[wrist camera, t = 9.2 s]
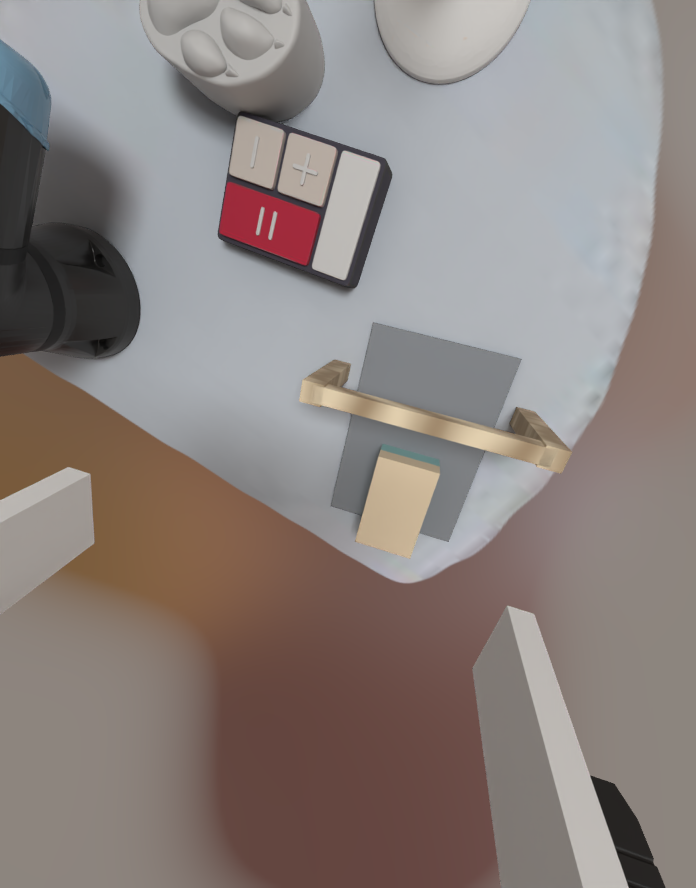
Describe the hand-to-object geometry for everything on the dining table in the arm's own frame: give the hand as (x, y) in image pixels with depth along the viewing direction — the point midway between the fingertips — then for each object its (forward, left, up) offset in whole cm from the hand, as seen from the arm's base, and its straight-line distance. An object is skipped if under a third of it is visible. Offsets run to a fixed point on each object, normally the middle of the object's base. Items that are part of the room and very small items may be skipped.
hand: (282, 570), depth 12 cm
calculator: (-13, +14, -35) cm, 39 cm away
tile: (+5, -15, -30) cm, 33 cm away
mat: (+5, -7, -34) cm, 35 cm away
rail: (+5, -1, -34) cm, 34 cm away
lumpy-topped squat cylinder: (-19, +25, -34) cm, 47 cm away
